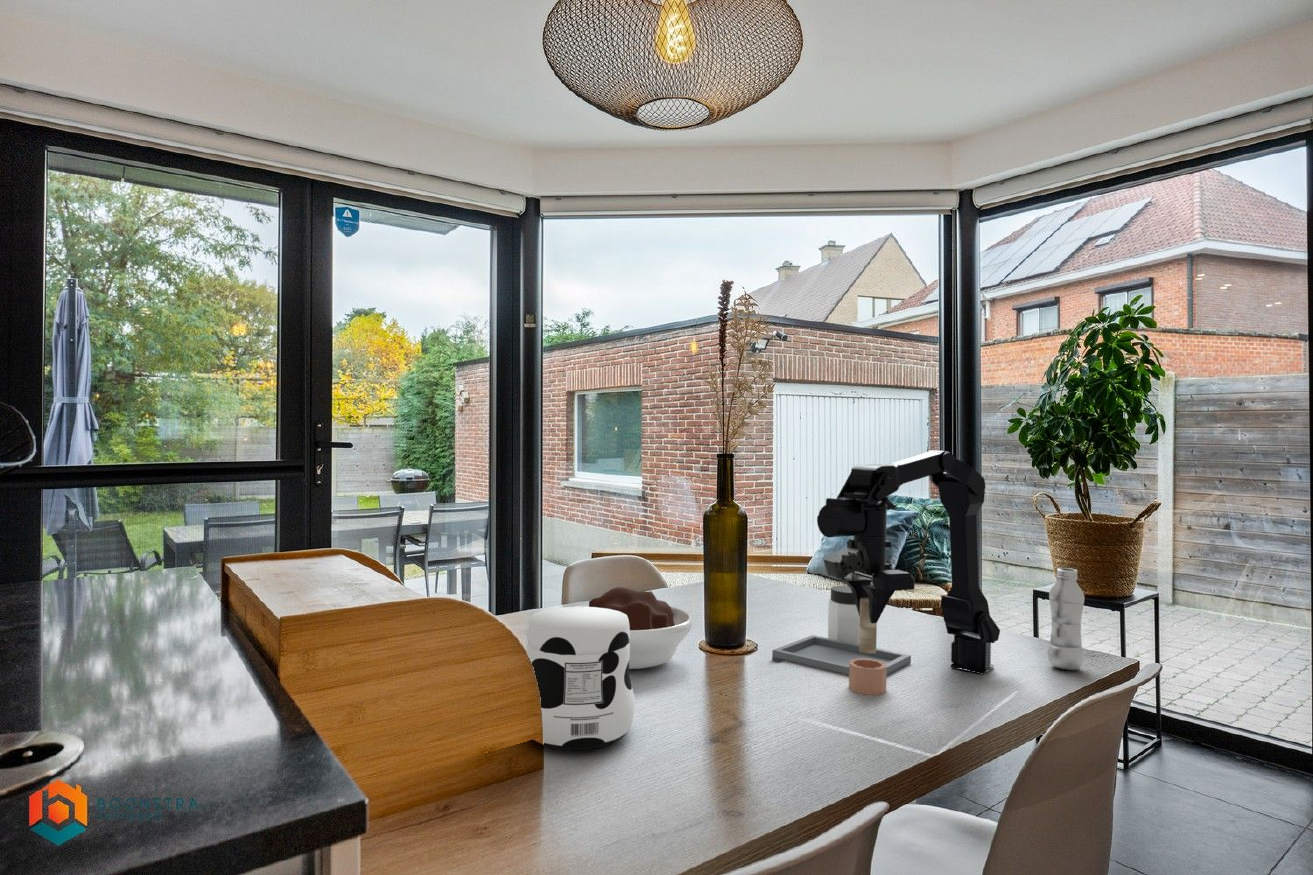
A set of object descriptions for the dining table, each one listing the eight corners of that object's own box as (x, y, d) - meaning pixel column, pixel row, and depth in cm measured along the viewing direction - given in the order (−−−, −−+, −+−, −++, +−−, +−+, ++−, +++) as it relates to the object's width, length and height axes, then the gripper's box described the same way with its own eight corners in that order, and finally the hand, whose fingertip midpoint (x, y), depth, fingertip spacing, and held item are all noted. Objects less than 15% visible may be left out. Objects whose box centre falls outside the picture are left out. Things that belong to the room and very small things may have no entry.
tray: (910, 665, 156) (910, 655, 156) (874, 684, 143) (875, 673, 143) (812, 644, 171) (812, 635, 171) (772, 659, 158) (772, 649, 158)
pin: (879, 651, 139) (880, 598, 139) (871, 654, 137) (872, 601, 137) (863, 648, 141) (864, 596, 141) (856, 651, 139) (857, 598, 139)
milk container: (577, 707, 129) (579, 600, 129) (657, 734, 118) (659, 617, 118) (494, 738, 116) (496, 618, 115) (576, 771, 105) (578, 639, 104)
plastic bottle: (1047, 670, 154) (1048, 570, 154) (1047, 661, 160) (1049, 565, 160) (1084, 675, 151) (1085, 573, 151) (1083, 666, 157) (1084, 568, 157)
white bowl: (658, 641, 171) (659, 573, 171) (714, 673, 149) (715, 595, 149) (550, 653, 161) (551, 580, 161) (592, 689, 138) (593, 605, 138)
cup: (891, 691, 140) (892, 663, 140) (876, 699, 135) (876, 671, 135) (858, 683, 144) (859, 656, 144) (842, 691, 139) (843, 663, 139)
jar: (853, 650, 166) (854, 594, 166) (821, 642, 172) (822, 588, 172) (875, 642, 172) (876, 589, 172) (843, 635, 178) (844, 583, 178)
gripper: (804, 529, 145) (802, 611, 145) (861, 542, 128) (859, 636, 128) (855, 528, 149) (853, 608, 149) (917, 541, 131) (915, 632, 131)
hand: (868, 620), depth 139 cm, fingers closed on pin, 3 cm apart
